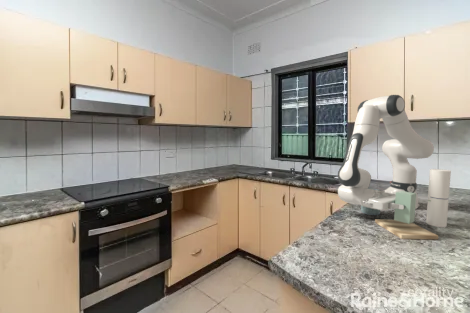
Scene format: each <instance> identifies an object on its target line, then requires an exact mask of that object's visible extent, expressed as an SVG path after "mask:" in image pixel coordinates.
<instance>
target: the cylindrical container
mask: <svg viewBox="0 0 470 313" xmlns="http://www.w3.org/2000/svg"><path fill="white" fill-rule="evenodd" d="M451 173H452V170H450V169H441V168H429V176H428V177H429V178H428V189H427V190H428V193H427V195H428V196H427V207H426V220H425V223H426V224H427V225H429V226H432V227H438V228H447V225H448V213H449V212H448V211H449V201H450V188H451V186H450V185H451V175H452V174H451Z"/></svg>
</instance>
